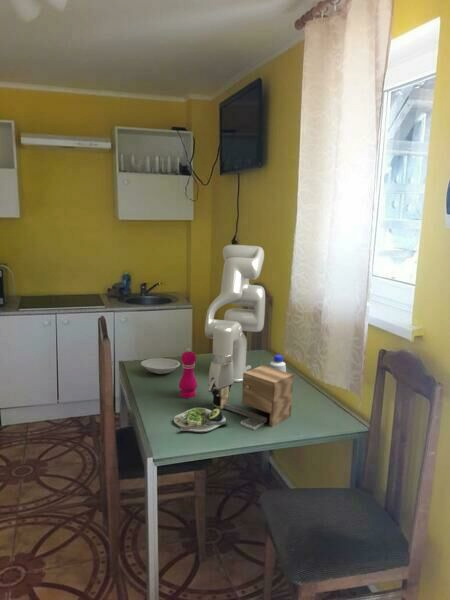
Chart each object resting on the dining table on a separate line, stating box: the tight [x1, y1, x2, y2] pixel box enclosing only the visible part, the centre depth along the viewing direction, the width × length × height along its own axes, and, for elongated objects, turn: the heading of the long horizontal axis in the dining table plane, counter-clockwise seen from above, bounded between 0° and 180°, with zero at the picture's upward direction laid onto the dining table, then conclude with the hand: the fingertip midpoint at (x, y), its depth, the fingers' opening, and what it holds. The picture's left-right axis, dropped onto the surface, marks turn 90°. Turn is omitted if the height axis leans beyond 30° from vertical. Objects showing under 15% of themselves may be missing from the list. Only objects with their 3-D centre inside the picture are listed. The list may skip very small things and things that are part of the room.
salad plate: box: [173, 407, 231, 433], centre depth 178 cm, size 19×18×5 cm
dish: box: [140, 357, 181, 375], centre depth 226 cm, size 18×14×5 cm
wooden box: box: [241, 364, 295, 427], centre depth 185 cm, size 13×14×16 cm
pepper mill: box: [178, 347, 198, 399], centre depth 201 cm, size 7×7×20 cm
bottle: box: [269, 354, 287, 372], centre depth 197 cm, size 7×7×20 cm
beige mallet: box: [212, 386, 268, 424], centre depth 186 cm, size 4×23×8 cm, turn 50°
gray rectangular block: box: [240, 417, 265, 431], centre depth 179 cm, size 6×6×2 cm
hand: (220, 402), depth 193 cm, fingers closed on beige mallet, 4 cm apart
